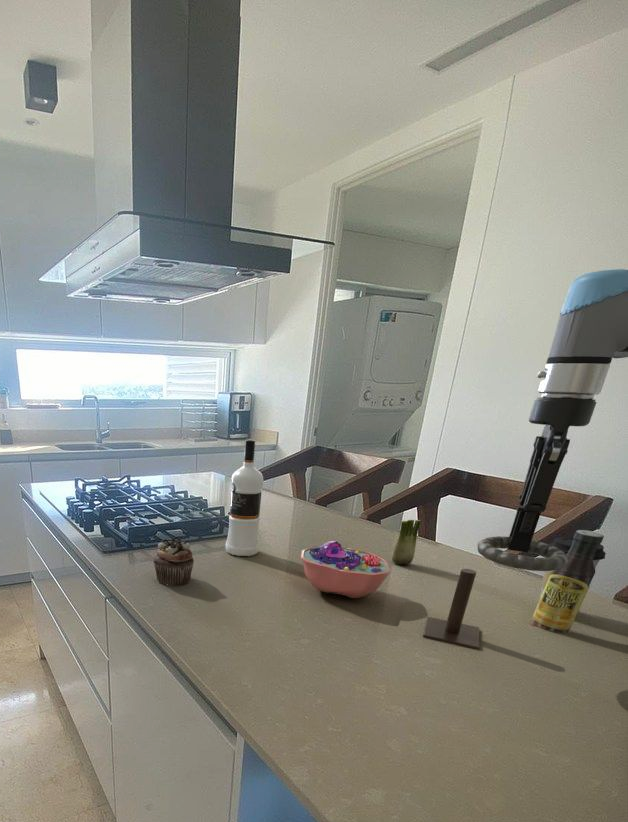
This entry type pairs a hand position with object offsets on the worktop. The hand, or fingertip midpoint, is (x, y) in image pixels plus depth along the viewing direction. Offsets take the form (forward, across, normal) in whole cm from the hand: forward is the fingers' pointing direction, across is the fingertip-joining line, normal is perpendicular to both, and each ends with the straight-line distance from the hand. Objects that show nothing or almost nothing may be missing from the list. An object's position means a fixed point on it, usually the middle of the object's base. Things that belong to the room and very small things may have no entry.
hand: (516, 547), depth 82 cm
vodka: (+19, -26, -58) cm, 67 cm away
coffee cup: (+19, -26, +14) cm, 34 cm away
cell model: (+19, -11, -29) cm, 36 cm away
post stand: (+19, 0, -6) cm, 20 cm away
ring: (-1, +5, 0) cm, 5 cm away
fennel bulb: (+19, -40, -18) cm, 48 cm away
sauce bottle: (+19, -14, +11) cm, 26 cm away
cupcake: (+19, +2, -65) cm, 68 cm away
